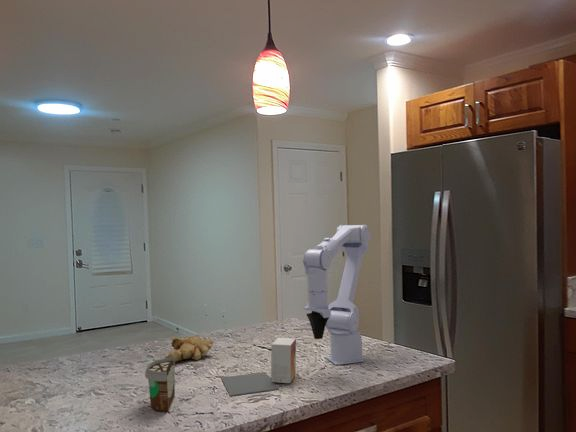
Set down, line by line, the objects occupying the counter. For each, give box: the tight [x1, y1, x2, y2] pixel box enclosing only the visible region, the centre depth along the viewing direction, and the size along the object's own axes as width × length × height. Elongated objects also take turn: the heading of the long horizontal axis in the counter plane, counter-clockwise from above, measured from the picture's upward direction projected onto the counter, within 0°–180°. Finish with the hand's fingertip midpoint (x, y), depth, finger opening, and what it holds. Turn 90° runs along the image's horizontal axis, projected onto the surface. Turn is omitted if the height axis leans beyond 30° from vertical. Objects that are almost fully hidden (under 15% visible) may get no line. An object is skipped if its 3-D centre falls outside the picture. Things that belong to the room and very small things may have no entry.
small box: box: [270, 337, 297, 384], centre depth 132 cm, size 8×6×10 cm
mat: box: [220, 371, 280, 397], centre depth 129 cm, size 13×14×1 cm
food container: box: [144, 357, 176, 413], centre depth 116 cm, size 12×6×10 cm, turn 5°
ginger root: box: [165, 336, 214, 362], centre depth 155 cm, size 16×16×8 cm
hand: (318, 338), depth 134 cm, fingers closed
